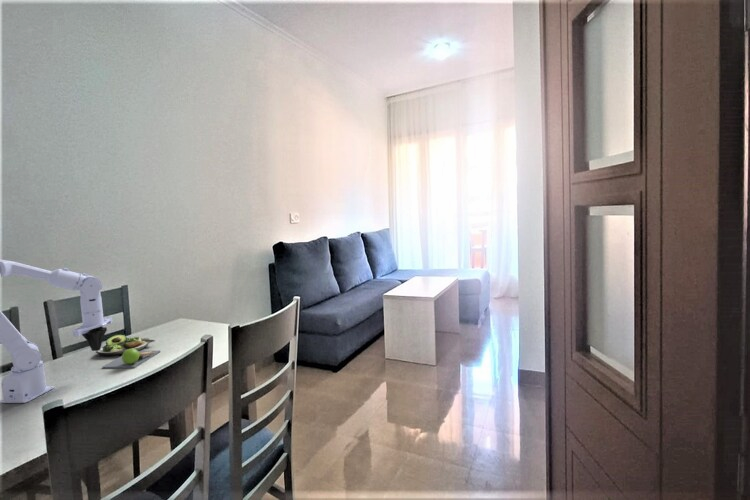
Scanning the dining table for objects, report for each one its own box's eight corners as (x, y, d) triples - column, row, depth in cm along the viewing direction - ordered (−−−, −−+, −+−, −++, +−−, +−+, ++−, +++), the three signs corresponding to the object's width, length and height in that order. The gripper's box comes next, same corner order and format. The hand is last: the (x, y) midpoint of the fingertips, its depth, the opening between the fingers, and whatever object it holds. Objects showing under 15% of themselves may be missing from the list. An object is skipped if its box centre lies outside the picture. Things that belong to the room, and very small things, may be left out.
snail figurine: (136, 348, 132) (154, 345, 144) (118, 350, 132) (137, 347, 144) (137, 363, 132) (154, 359, 143) (118, 366, 131) (137, 361, 143)
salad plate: (163, 338, 162) (162, 328, 161) (144, 352, 144) (143, 341, 144) (116, 343, 159) (115, 332, 159) (90, 358, 142) (88, 346, 141)
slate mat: (134, 368, 132) (134, 366, 132) (102, 368, 133) (102, 366, 133) (160, 351, 147) (160, 350, 147) (131, 352, 148) (131, 350, 148)
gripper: (85, 317, 117) (90, 358, 119) (119, 305, 132) (122, 342, 133) (64, 317, 118) (69, 358, 119) (100, 305, 132) (104, 342, 133)
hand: (96, 350), depth 126 cm, fingers closed
